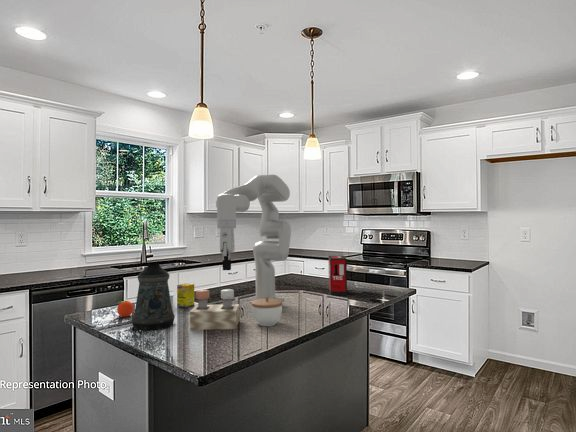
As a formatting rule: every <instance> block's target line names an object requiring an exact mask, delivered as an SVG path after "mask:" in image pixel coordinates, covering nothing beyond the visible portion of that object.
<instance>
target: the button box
mask: <svg viewBox="0 0 576 432" xmlns="http://www.w3.org/2000/svg"><path fill="white" fill-rule="evenodd" d="M239 322H240V304H239V303H237V304H236V303H232V309H223V304H207V309H205V310H198V304H195V305H194V306H193V308H192V309H190V311H189V330H190V331H191V330H193V331H194V330H195V331H199V330H200V331H201V330H236V329H237V328H238V325H239Z"/></svg>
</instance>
